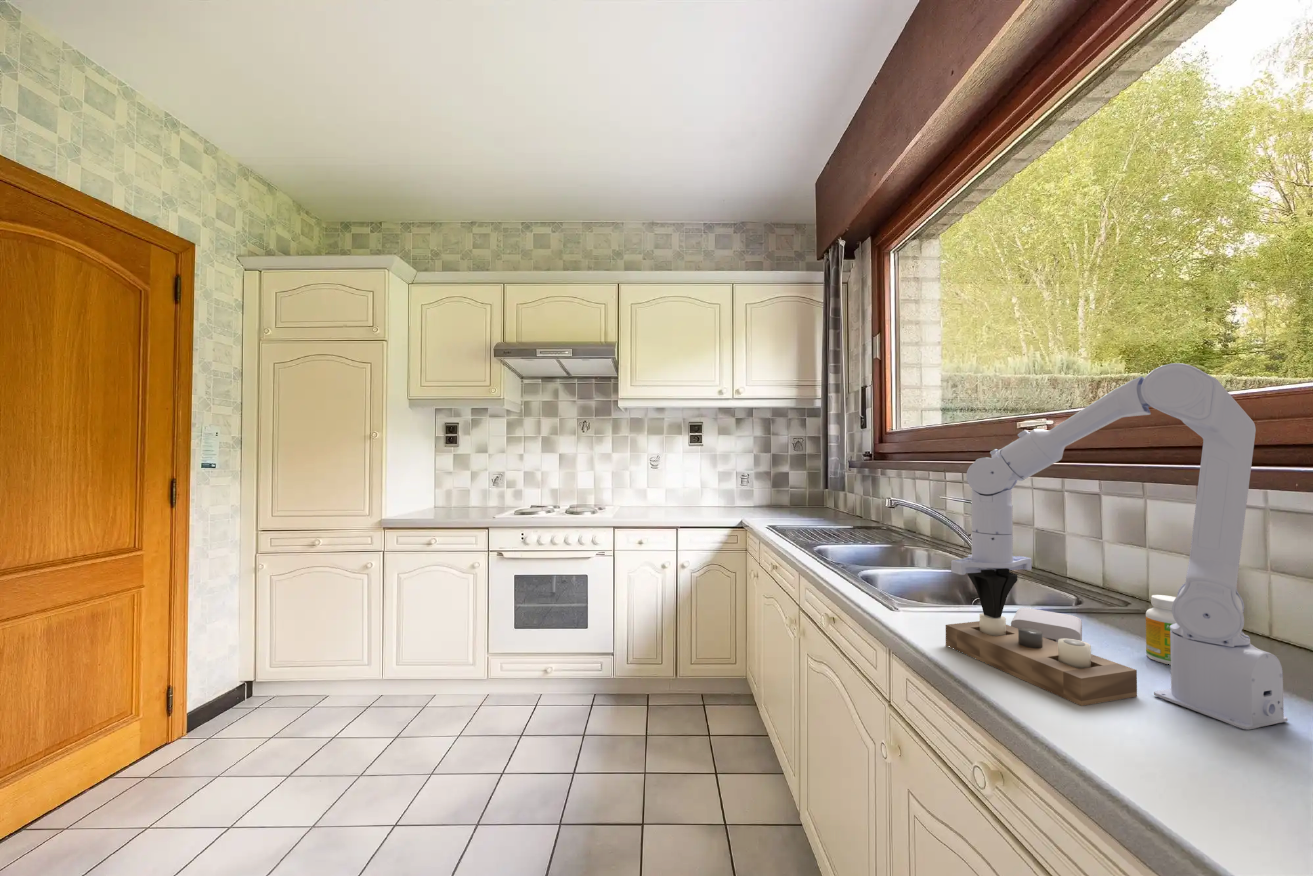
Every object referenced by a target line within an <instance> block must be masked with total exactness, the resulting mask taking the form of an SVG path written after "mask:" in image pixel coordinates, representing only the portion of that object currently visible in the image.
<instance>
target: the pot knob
mask: <svg viewBox="0 0 1313 876" xmlns="http://www.w3.org/2000/svg"><path fill="white" fill-rule="evenodd" d="M1018 643H1019V644H1020V645H1022V646H1025V647H1029V648H1042V647H1043V635H1042V632H1040V631H1038V630H1034V629H1028V628H1020V629H1018Z"/></svg>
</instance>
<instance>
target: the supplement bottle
mask: <svg viewBox="0 0 1313 876" xmlns="http://www.w3.org/2000/svg"><path fill="white" fill-rule="evenodd" d="M1150 597H1151V599H1150V603H1151V606H1152V608H1148V609H1147V610H1146V612H1145V651H1146V652H1145V653H1146V656H1147V658H1149V659H1151V660H1153V661H1156V662H1158V663H1161V664H1166V665H1168V664H1169V666H1171V640H1170V630H1171V629H1170V625H1172V624H1175V623H1176V621H1175V619H1174V617H1173V614H1172V604H1173V601H1174V600H1175V598H1176V597H1177V596H1171V595H1164V594H1152V595H1151V596H1150Z"/></svg>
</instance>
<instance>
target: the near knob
mask: <svg viewBox="0 0 1313 876" xmlns="http://www.w3.org/2000/svg"><path fill="white" fill-rule="evenodd" d="M1091 654H1092V646H1091V644H1090V643H1088V642H1085V641H1083V640H1082V641H1079V640H1074V639H1065V638H1064V639H1059V640H1058V661H1059V662H1062V663H1064V664H1067V665H1070V666H1072V667H1075V668H1077V669H1083V668H1090V667H1091Z"/></svg>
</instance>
